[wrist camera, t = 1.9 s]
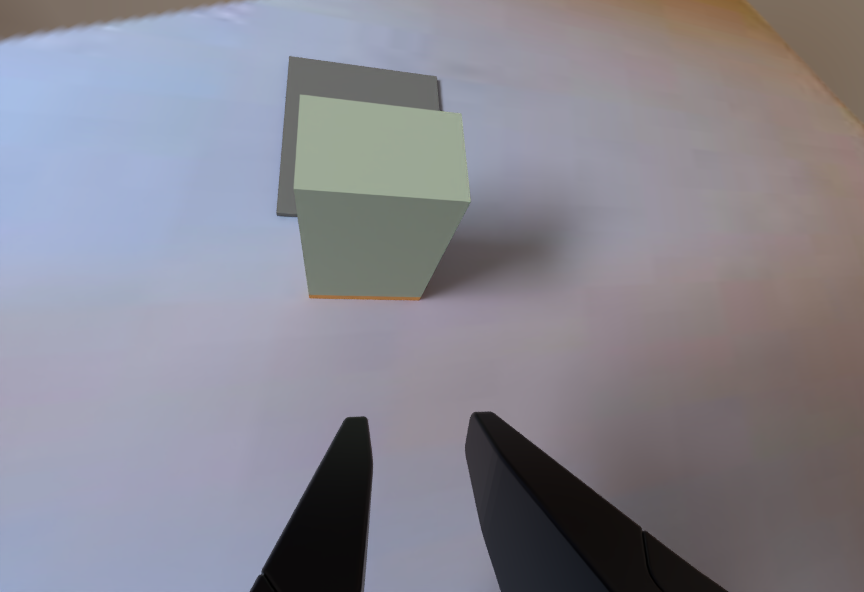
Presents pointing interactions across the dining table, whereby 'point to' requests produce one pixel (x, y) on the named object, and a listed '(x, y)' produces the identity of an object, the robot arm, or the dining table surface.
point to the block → (376, 196)
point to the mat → (346, 86)
